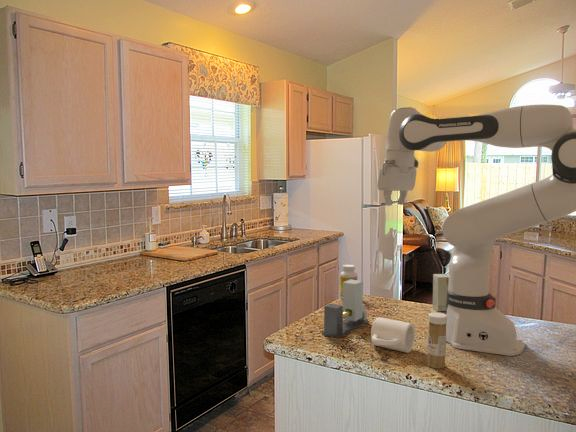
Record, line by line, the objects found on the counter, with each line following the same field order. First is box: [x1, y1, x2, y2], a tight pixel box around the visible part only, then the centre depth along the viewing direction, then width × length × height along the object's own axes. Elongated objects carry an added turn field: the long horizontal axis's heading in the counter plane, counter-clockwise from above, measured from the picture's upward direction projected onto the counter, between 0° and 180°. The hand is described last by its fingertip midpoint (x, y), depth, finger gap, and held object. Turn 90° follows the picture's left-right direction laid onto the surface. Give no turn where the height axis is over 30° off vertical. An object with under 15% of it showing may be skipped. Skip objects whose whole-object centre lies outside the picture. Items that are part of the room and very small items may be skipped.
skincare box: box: [432, 273, 449, 312], centre depth 171 cm, size 6×4×12 cm
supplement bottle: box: [339, 264, 358, 300], centre depth 186 cm, size 7×7×13 cm
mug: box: [370, 316, 416, 354], centre depth 133 cm, size 12×10×8 cm
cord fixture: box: [321, 303, 369, 339], centre depth 151 cm, size 6×19×9 cm, turn 145°
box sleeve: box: [342, 279, 364, 321], centre depth 155 cm, size 4×5×12 cm
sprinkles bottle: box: [426, 311, 447, 369], centre depth 122 cm, size 5×5×13 cm
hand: (394, 205), depth 151 cm, fingers open, 8 cm apart
